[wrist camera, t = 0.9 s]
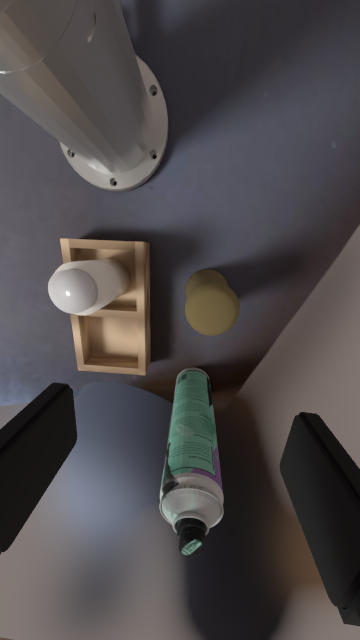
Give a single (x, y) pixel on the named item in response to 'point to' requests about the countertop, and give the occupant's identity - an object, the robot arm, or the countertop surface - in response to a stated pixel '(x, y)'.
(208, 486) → the spray can
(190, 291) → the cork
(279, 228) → the countertop surface
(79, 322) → the caddy
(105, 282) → the salt shaker
